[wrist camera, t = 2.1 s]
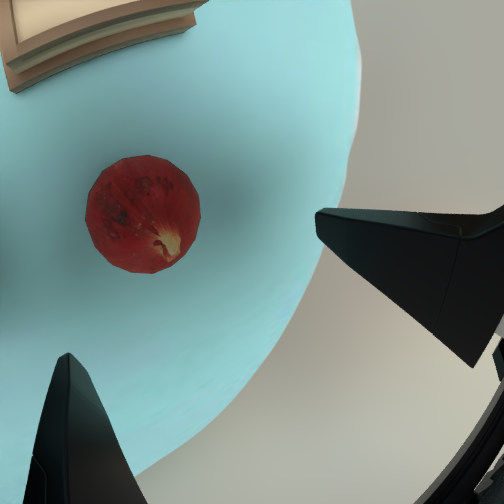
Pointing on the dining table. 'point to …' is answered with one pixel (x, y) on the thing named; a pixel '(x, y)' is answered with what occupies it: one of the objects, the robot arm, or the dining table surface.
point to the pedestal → (80, 32)
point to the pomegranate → (143, 214)
